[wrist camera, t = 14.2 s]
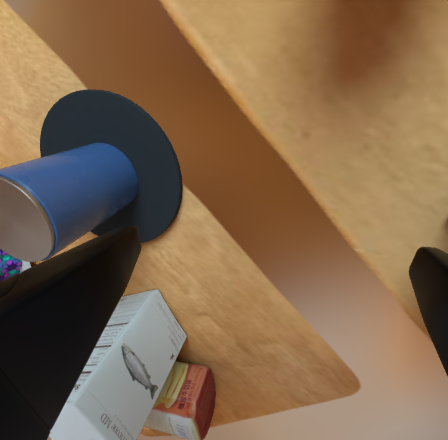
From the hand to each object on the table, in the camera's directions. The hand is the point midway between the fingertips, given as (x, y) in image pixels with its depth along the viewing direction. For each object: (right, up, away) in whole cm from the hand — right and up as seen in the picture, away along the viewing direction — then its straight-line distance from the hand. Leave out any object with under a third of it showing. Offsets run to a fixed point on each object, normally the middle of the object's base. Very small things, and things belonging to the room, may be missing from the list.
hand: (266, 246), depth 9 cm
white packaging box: (-10, -10, +23) cm, 27 cm away
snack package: (-12, -19, +28) cm, 36 cm away
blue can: (-12, +5, +15) cm, 20 cm away
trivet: (-12, +5, +16) cm, 20 cm away
